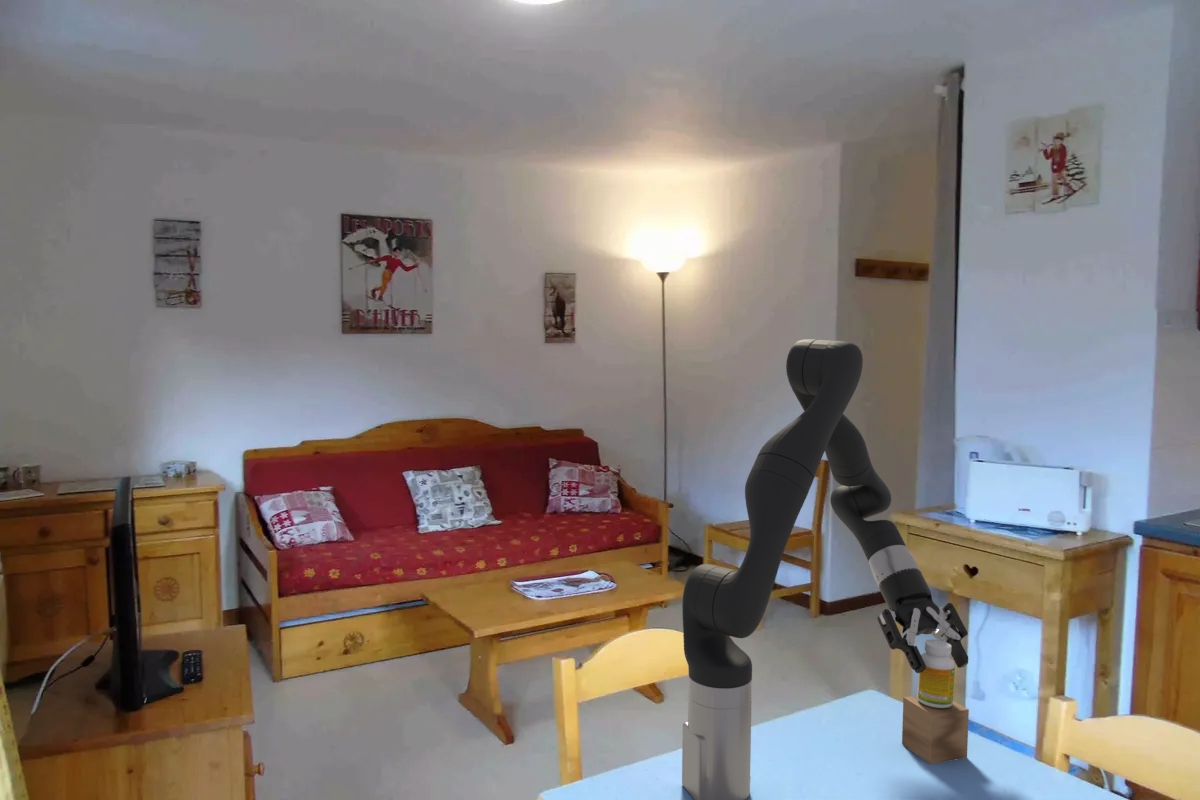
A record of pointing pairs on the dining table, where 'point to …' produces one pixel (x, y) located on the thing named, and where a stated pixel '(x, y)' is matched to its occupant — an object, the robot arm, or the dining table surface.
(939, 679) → the supplement bottle
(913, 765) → the dining table surface
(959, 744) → the walnut block
